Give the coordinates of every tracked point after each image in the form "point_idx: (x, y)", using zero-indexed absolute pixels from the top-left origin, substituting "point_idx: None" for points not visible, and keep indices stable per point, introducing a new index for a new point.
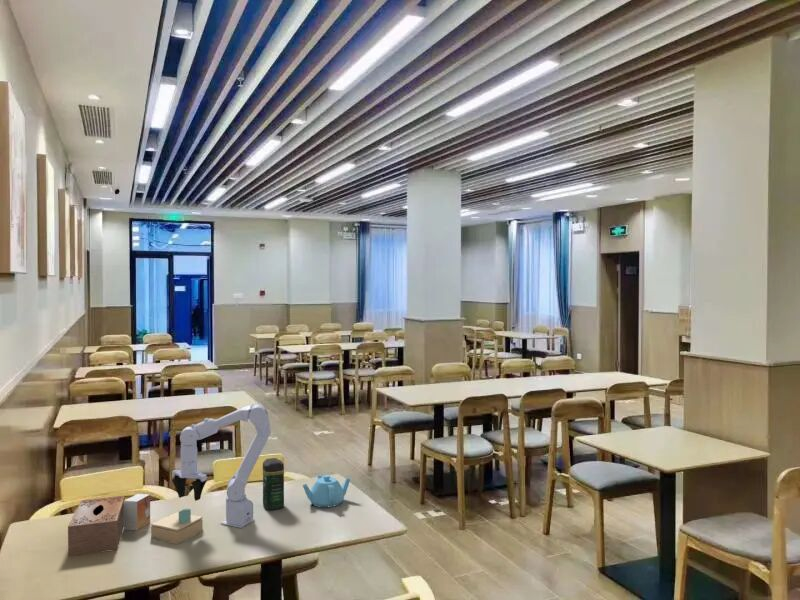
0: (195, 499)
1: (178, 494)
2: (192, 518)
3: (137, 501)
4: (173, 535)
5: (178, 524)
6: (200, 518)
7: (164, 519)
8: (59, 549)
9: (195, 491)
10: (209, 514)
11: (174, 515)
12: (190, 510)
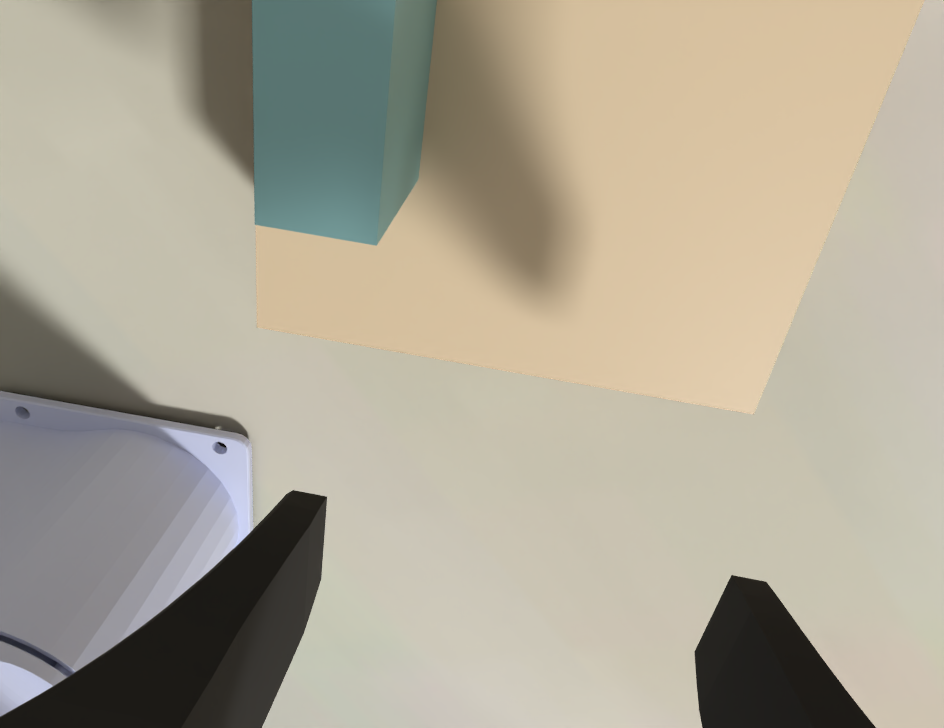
0: (295, 504)
1: (785, 625)
2: (355, 245)
3: None
4: None
5: None
6: (260, 287)
7: (815, 92)
8: None
9: (170, 629)
10: (520, 606)
11: (719, 293)
12: (262, 211)
